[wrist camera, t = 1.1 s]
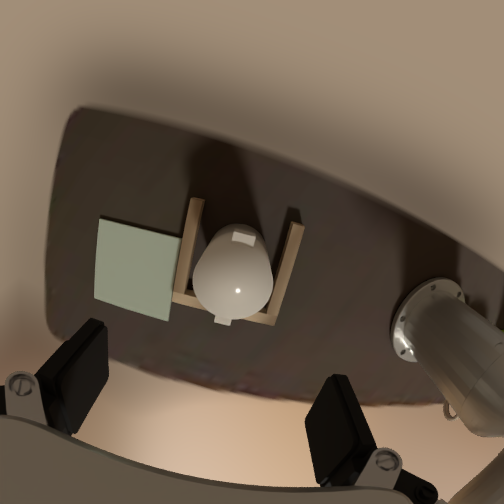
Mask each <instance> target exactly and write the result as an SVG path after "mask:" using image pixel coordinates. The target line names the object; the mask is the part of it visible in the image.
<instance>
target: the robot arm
mask: <svg viewBox="0 0 504 504" xmlns="http://www.w3.org/2000/svg"><path fill="white" fill-rule="evenodd" d="M390 337H391V344H392V347H393V349H394V350H395V352H396V353H397V355H398V356H399V357H400V358H402V359H403V360H406V361H409V362H418V363H419V364H420V365H421V366H422V368H423V369H424V370H425V372H426V373H427V374H428V375H429V377H430V378H431V379H432V381H433V382H434V383H435V385H436V386H437V387H438V389H439V390H440V391H441V393H442V394H443V396H444V397H445V398H446V400H447V401H448V402H449V404H450V405H451V407H452V408H453V409H454V411H455V412H456V414H457V415H458V416H459V418H460V419H461V420H462V422H463V423H464V425H465V426H466V427H467V428H468V430H469V431H471V432H472V433H473V434H475V435H477V436H481V437H504V332H502V331H501V330H500V329H499V328H497V327H496V326H495V325H493V324H492V323H491V322H489V321H488V320H487V319H486V318H484V317H483V316H482V315H480V314H479V313H477V312H476V311H475V310H473V309H472V308H471V307H469V306H468V305H467V304H465V297H464V294H463V291H462V289H461V288H460V286H459V285H458V284H457V283H455V282H454V281H452V280H451V279H448V278H445V277H437V278H433V279H430V280H427V281H425V282H423V283H422V284H420V285H419V286H417V287H416V288H415V289H414V290H413V291H412V292H410V293H409V295H408V296H407V297H406V298H405V299H404V301H403V302H402V304H401V305H400V307H399V308H398V310H397V312H396V314H395V316H394V319H393V322H392V326H391V332H390ZM108 377H109V366H108V330H107V327H106V326H104V322H102V321H99V320H96V319H94V318H90V319H89V320H88V321H87V322H86V323H85V324H84V325H83V326H82V327H81V328H80V329H79V330H78V331H77V332H76V333H75V334H74V335H73V336H72V337H71V339H70V340H68V341H65V342H64V343H63V344H62V345H61V346H60V347H59V348H58V350H56V352H55V353H54V354H53V355H52V356H51V357H50V358H49V359H48V360H47V361H46V362H45V364H44V365H43V366H42V367H41V368H40V369H39V370H38V372H37V373H36V374H35V375H32V374H31V373H28V372H25V371H17V372H14V373H12V374H10V375H9V376H8V377H7V379H6V381H5V385H3V386H0V504H504V448H503V450H502V451H501V452H500V453H499V454H498V456H497V457H496V458H495V459H494V460H493V461H492V462H491V463H490V464H489V465H488V466H487V467H486V468H484V469H483V470H482V471H481V472H480V473H479V474H478V475H477V476H476V477H474V478H473V479H472V480H471V481H470V482H469V483H468V484H467V485H465V486H464V487H463V488H462V489H461V490H460V491H459V492H457V493H456V494H455V495H454V496H453V497H452V498H451V500H450V501H449V502H448V503H446V502H445V501H444V500H443V499H441V500H438V492H437V489H436V488H435V487H434V485H432V484H431V483H429V482H427V481H425V480H423V479H421V478H419V477H417V476H415V475H413V474H411V473H409V472H407V471H405V470H404V469H402V459H401V457H400V455H399V454H398V453H397V452H395V451H394V450H392V449H389V448H377V446H376V443H375V441H374V438H373V436H372V433H371V431H370V428H369V426H368V423H367V421H366V419H365V417H364V414H363V412H362V409H361V407H360V405H359V402H358V400H357V398H356V395H355V393H354V391H353V389H352V386H351V384H350V382H349V380H348V377H347V376H346V375H340V374H333V375H332V376H331V377H328V378H327V379H326V381H325V383H324V385H323V387H322V389H321V391H320V393H319V394H318V396H317V398H316V400H315V402H314V404H313V405H312V407H311V409H310V411H309V413H308V414H307V416H306V418H305V428H306V433H307V438H308V442H309V448H310V452H311V458H312V463H313V467H314V473H315V478H316V482H317V483H318V484H320V487H271V486H257V485H246V484H237V483H229V482H222V481H215V480H209V479H204V478H198V477H193V476H188V475H183V474H179V473H175V472H170V471H167V470H163V469H159V468H155V467H152V466H148V465H145V464H142V463H139V462H135V461H132V460H129V459H126V458H124V457H121V456H118V455H115V454H113V453H110V452H107V451H105V450H102V449H99V448H97V447H94V446H92V445H90V444H87V443H85V442H83V441H80V440H78V439H76V438H73V437H71V435H72V434H73V433H74V434H76V433H77V432H78V430H79V429H80V427H81V425H82V423H83V421H84V420H85V418H86V416H87V414H88V412H89V411H90V409H91V407H92V406H93V404H94V402H95V401H96V399H97V397H98V396H99V394H100V392H101V390H102V389H103V387H104V385H105V384H106V382H107V380H108Z"/></svg>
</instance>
